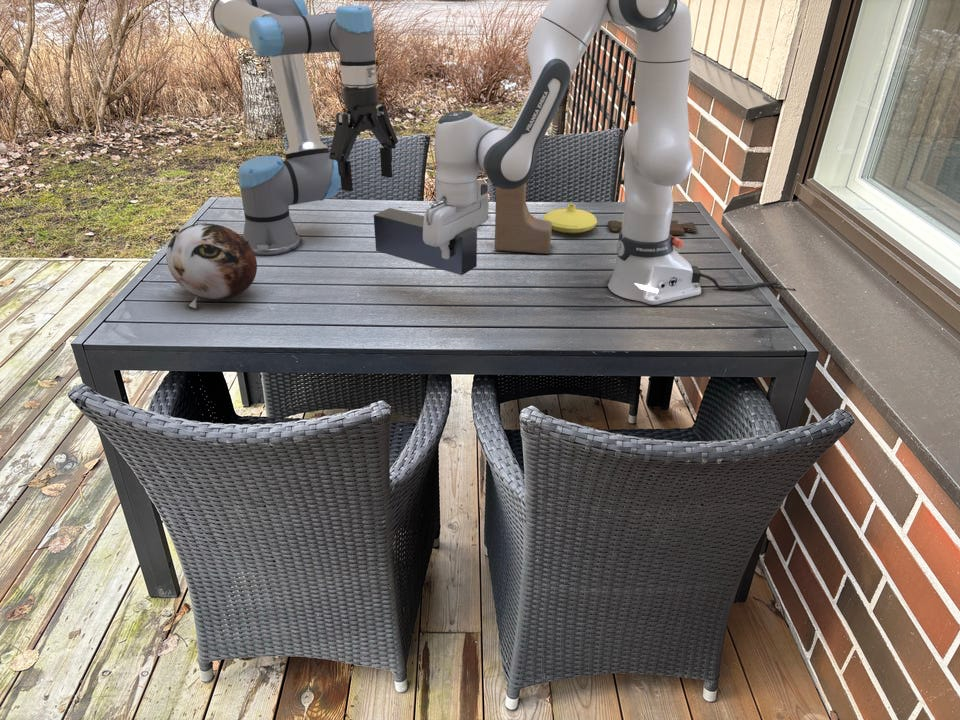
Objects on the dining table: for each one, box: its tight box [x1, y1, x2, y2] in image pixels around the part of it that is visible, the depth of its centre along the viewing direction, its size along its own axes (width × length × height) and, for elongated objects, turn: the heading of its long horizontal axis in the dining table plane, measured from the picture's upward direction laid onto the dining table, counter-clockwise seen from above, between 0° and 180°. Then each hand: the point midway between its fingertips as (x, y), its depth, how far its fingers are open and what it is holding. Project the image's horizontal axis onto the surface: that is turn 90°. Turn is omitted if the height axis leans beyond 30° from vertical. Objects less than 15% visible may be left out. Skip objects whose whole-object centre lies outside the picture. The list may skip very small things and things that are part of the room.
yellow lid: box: [543, 203, 598, 234], centre depth 209 cm, size 16×16×7 cm
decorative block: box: [494, 181, 553, 255], centre depth 190 cm, size 8×15×30 cm, turn 82°
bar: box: [373, 207, 478, 276], centre depth 162 cm, size 25×6×9 cm, turn 57°
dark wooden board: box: [607, 219, 697, 235], centre depth 211 cm, size 26×2×10 cm
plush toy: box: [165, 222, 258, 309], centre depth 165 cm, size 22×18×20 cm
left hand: (367, 183), depth 164 cm, fingers open, 13 cm apart
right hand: (456, 252), depth 159 cm, fingers closed on bar, 6 cm apart
